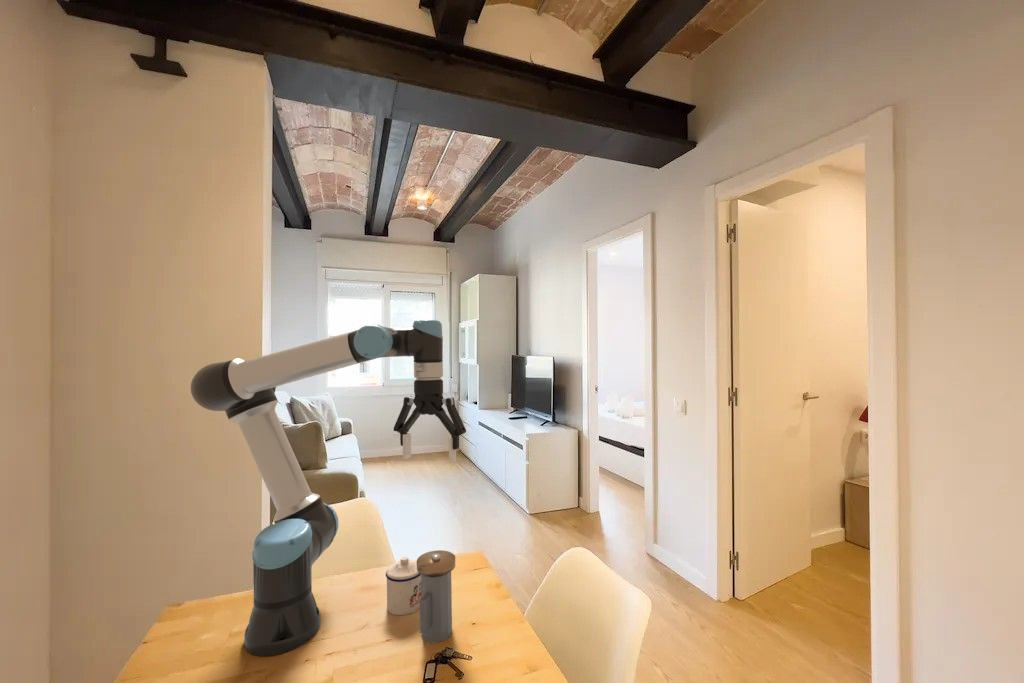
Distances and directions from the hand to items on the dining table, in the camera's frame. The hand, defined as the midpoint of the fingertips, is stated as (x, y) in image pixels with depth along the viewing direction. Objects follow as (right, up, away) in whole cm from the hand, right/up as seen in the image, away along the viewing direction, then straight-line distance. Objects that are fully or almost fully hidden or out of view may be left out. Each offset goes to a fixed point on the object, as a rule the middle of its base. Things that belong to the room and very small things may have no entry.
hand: (429, 460), depth 113 cm
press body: (+4, -34, -17) cm, 39 cm away
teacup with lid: (-5, -35, -4) cm, 35 cm away
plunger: (+5, -32, -16) cm, 36 cm away
